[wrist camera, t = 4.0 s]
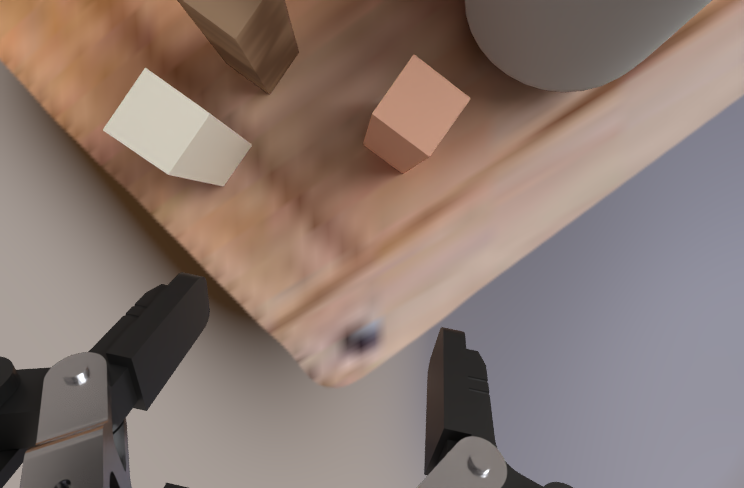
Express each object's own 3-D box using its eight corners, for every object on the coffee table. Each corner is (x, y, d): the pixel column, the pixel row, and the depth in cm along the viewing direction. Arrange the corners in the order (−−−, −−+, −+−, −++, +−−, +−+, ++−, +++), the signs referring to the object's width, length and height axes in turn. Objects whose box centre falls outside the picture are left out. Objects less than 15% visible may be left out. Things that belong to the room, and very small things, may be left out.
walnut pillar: (269, 94, 31) (235, 39, 21) (226, 63, 31) (170, -9, 21) (298, 52, 31) (278, -23, 21) (255, 20, 31) (213, -73, 21)
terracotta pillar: (402, 173, 32) (429, 156, 22) (362, 144, 32) (372, 113, 22) (431, 133, 32) (470, 98, 22) (391, 103, 32) (413, 54, 22)
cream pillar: (223, 186, 31) (167, 174, 21) (179, 156, 31) (102, 129, 21) (252, 145, 31) (210, 113, 21) (209, 114, 31) (145, 67, 21)
